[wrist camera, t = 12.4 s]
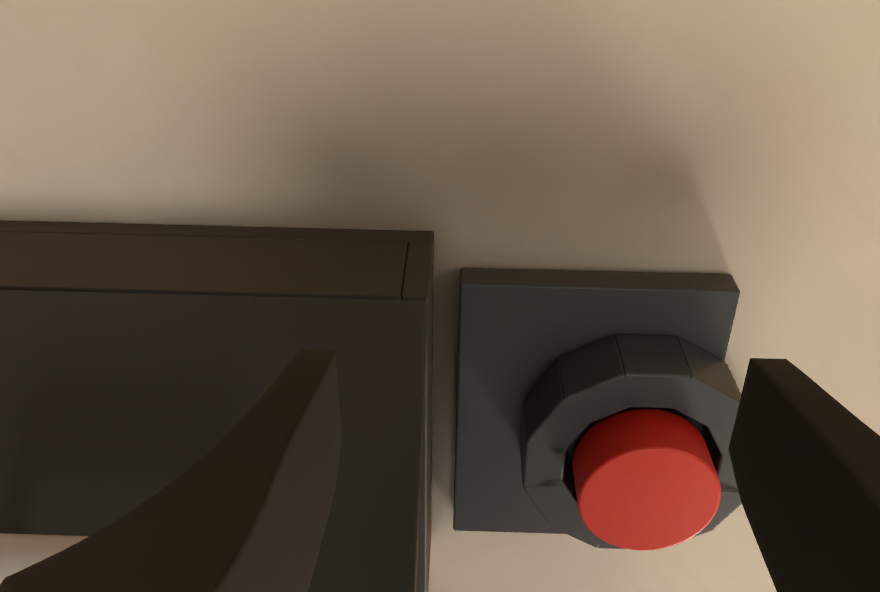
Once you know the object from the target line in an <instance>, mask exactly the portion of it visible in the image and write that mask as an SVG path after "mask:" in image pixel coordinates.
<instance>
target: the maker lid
mask: <svg viewBox="0 0 880 592" xmlns="http://www.w3.org/2000/svg"><path fill="white" fill-rule="evenodd" d="M427 321H428V309H427V302H426V301H406V300H368V299H329V298H291V297H253V296H214V295H176V294H138V293H99V292H61V291H23V290H0V584H1V583H2V581H3V580H4V578H5V577H7V576H10V575H12V574H14V573H17V572H19V571H21V570H23V569H25V568H27V567H29V566H31V565H33V564H36V563H38V562H40V561H42V560H44V559H46V558H48V557H50V556H52V555H54V554H56V553H59V552H61V551H63V550H65V549H66V548H68V547H70V546H72V545H74V544H76V543H78V542H80V541H81V540H83V539H85V538H87V537H88V536H90V535H92V534H94V533H96V532H97V531H99V530H101V529H103V528H104V527H106V526H108V525H109V524H111V523H112V522H114V521H116V520H117V519H119V518H121V517H122V516H124V515H125V514H127V513H128V512H130V511H131V510H133V509H134V508H136V507H137V506H139V505H140V504H141V503H143V502H144V501H146V500H147V499H149V498H150V497H151V496H153V495H154V494H156V493H157V492H159V491H160V490H162V489H163V488H164V487H166V486H167V485H168V484H170V483H171V482H172V481H174V480H175V479H176V478H177V477H178V476H180V475H181V474H182V473H183V472H185V471H186V470H187V469H188V468H189V467H190V466H192V465H193V464H194V463H195V462H196V461H197V460H198V459H200V458H201V457H202V456H203V455H204V454H205V453H206V452H207V451H208V450H209V449H210V448H211V447H212V446H214V445H215V444H216V443H217V442H218V441H219V440H220V439H221V438H222V437H223V436H224V435H225V434H226V433H227V432H228V431H229V430H230V429H231V428H232V427H233V426H234V425H235V424H236V423H237V422H238V420H239V419H240V418H241V417H242V416H243V415H244V414H245V413H246V412H247V411H248V409H249V408H250V407H251V406H252V405H253V404H254V403H255V402H256V401H257V399H258V398H259V397H260V396H261V395H262V394H263V393H264V391H265V390H266V389H267V388H268V387H269V385H270V384H271V383H272V382H273V381H274V379H275V378H276V377H277V376H278V374H279V373H280V372H281V371H282V369H283V368H284V367H285V366H286V364H287V363H288V362H289V361H290V359H291V358H292V357H293V355H294V354H295V353H296V352H297V351H298V350H299V349H301V348H315V349H335V350H336V364H337V379H338V393H339V407H340V421H341V435H342V441H341V449H340V457H339V465H338V473H337V480H336V487H335V492H334V496H333V500H332V504H331V508H330V512H329V515H328V519H327V523H326V527H325V531H324V535H323V538H322V542H321V546H320V550H319V553H318V557H317V561H316V565H315V569H314V572H313V576H312V580H311V584H310V587H309V591H308V592H416V580H417V557H418V533H419V510H420V486H421V463H422V439H423V416H424V392H425V369H426V345H427Z"/></svg>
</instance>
